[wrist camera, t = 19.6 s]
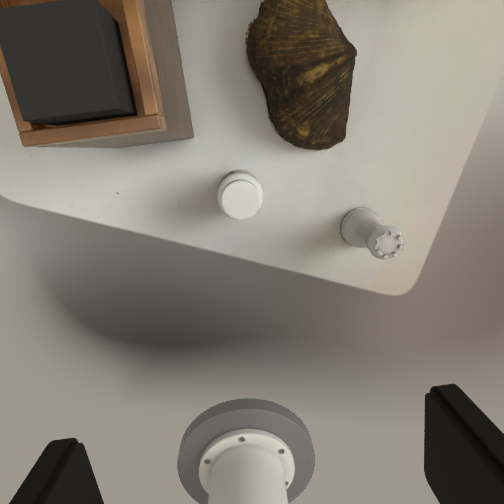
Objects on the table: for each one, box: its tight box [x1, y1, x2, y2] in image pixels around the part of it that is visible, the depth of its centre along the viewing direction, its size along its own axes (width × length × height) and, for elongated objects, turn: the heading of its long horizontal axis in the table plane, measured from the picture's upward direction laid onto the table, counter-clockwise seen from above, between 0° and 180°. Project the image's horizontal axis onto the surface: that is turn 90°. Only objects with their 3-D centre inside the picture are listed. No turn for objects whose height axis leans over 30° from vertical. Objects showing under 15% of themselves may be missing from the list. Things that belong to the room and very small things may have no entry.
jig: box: [0, 0, 194, 148], centre depth 25 cm, size 14×8×16 cm, turn 7°
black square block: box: [0, 0, 137, 126], centre depth 18 cm, size 5×5×4 cm
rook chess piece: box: [341, 208, 403, 259], centre depth 35 cm, size 4×4×8 cm
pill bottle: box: [217, 170, 264, 220], centre depth 33 cm, size 4×4×8 cm
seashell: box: [246, 0, 357, 150], centre depth 31 cm, size 16×9×7 cm, turn 20°
